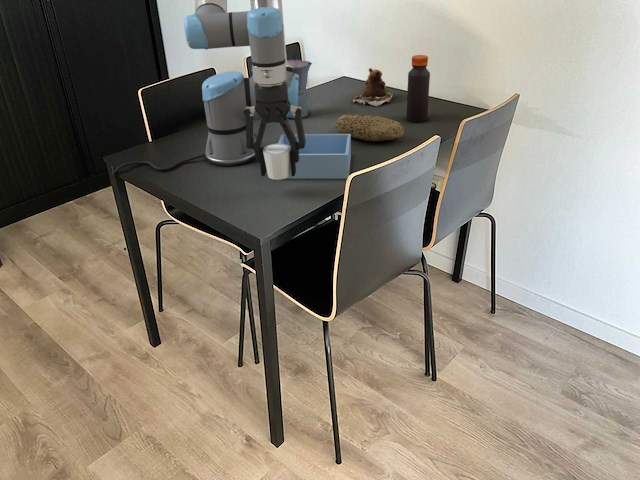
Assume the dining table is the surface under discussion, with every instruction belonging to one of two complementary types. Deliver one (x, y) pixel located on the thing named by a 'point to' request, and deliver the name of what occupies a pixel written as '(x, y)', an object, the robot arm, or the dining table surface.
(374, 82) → the bear figurine
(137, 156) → the dining table surface
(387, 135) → the sponge
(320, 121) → the dining table surface
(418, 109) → the bottle
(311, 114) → the dining table surface
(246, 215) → the dining table surface
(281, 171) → the shot glass
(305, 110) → the moka pot
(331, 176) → the open storage box
